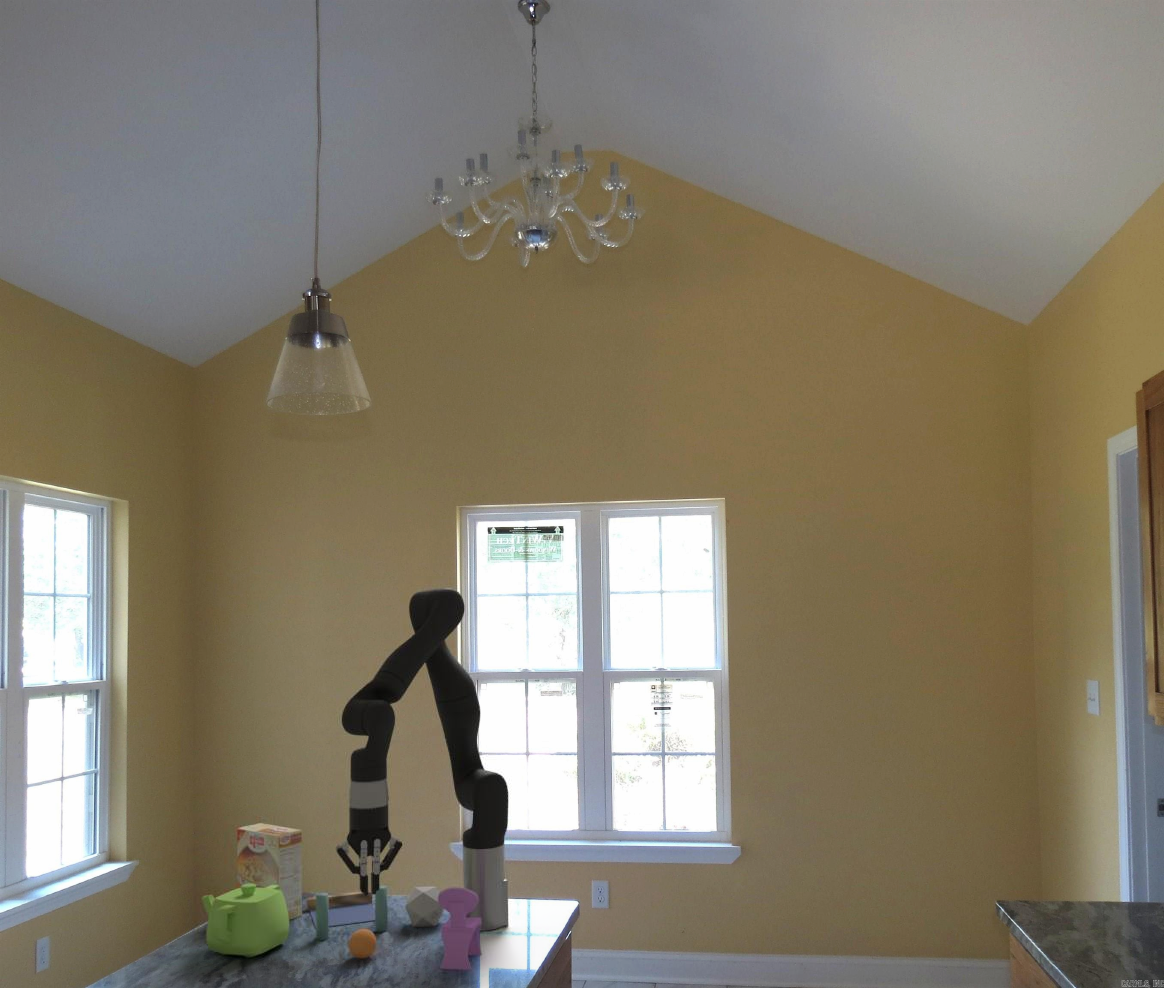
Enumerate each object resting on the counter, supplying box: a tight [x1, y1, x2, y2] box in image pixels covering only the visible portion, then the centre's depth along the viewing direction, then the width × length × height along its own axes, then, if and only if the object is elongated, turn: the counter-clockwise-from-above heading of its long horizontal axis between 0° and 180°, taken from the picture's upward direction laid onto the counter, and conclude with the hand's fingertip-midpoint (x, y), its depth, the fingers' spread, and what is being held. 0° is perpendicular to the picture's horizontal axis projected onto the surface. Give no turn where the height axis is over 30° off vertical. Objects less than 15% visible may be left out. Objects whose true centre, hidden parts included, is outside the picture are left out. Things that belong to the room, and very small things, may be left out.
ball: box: [348, 928, 378, 960], centre depth 208 cm, size 6×6×6 cm
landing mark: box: [309, 902, 375, 929], centre depth 236 cm, size 14×14×1 cm
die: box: [404, 886, 445, 928], centre depth 229 cm, size 8×9×10 cm
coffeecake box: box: [236, 822, 303, 921], centre depth 239 cm, size 15×7×20 cm, turn 55°
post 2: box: [374, 885, 388, 933], centre depth 226 cm, size 3×3×9 cm
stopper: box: [306, 889, 373, 912], centre depth 244 cm, size 15×2×2 cm, turn 110°
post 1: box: [315, 892, 330, 941], centre depth 221 cm, size 3×3×9 cm
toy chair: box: [438, 886, 483, 971], centre depth 206 cm, size 8×9×15 cm
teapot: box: [201, 883, 290, 958], centre depth 217 cm, size 18×20×13 cm
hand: (369, 893), depth 201 cm, fingers closed
